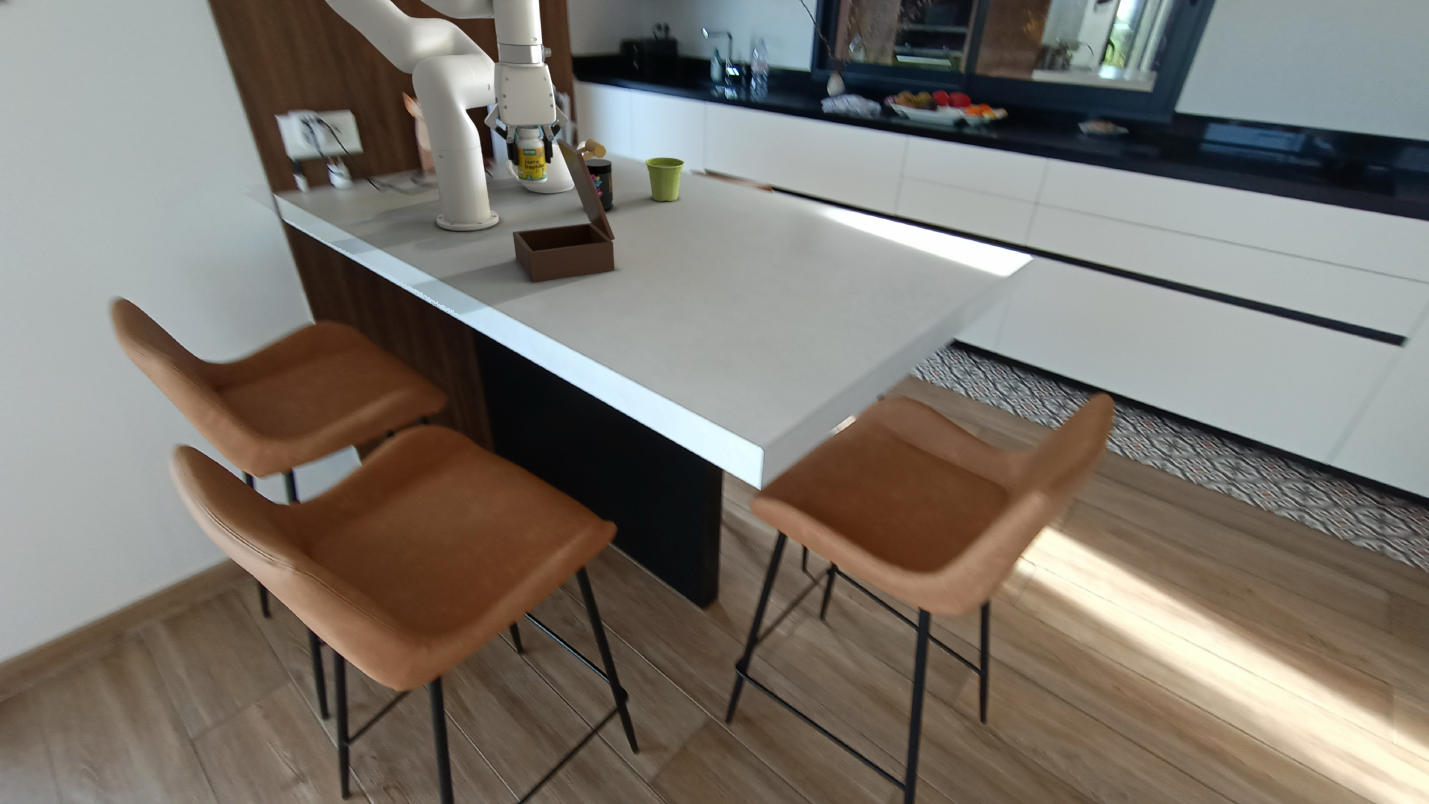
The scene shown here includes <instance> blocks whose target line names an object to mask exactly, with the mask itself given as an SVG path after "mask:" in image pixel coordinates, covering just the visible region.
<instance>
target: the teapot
mask: <svg viewBox="0 0 1429 804" xmlns="http://www.w3.org/2000/svg"><path fill="white" fill-rule="evenodd" d="M542 138H543V136H539V139H541V140H542ZM586 141H587V140H584V141H581V142H579V144H578V146H577V148H576V149H577V150H578V149H580V148H582V147H585V143H586ZM552 148H553V158H551V164H548V163H546V171H547V180H546V182H543V183H540V184H525V183H522V182H520V181H519V178H518V170H517V168H516V170H515V171H516V172H515V171H514V168H513V165H514V164H513V163H512V162H511V160H509V159H507V160H506V162H505V169H506V171H507V173H508V174H509V176H510V177H511V178H512V179H514V180H515V181H517V182H519V183H520V184H521V185H522V186H523V187H525V188H526V189H527V190H529V191H532V192H535V193H541V194H555V193H563V192H567V191H570V190H572V189H573V188H574V187H575V185H574V182H573V180H572V177H571V175H570V173H569V170H568V168H567V165H566V163H565V160H564V158H563V156H562V153H561V151H560V148H559V146H558V143H557V142H556V143H555V142H552ZM582 155H584V153H582Z"/></svg>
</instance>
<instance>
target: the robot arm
mask: <svg viewBox="0 0 1429 804" xmlns="http://www.w3.org/2000/svg"><path fill="white" fill-rule="evenodd" d="M324 1H325V2H326V4H327V5H328V6H329V7H330V8H331V9H332V10H333V11H334V12H335V13H336V14H338V15H339V16H340V17H341V18H342V19H343V20H344V21H346V22H347V23H349V24H350V25H351V26H353V28H355V29H356V30H357V31H358V32H360V33H361V34H362V36H364V37H365V38H366V39H367V41H368V42H370V43H371V44H372V45H373V46H374V47H375V48H376V50H378V51H379V52H380V53H381V54H382V55H383V57H385V58H386V59H387V60H388V61H389V62H390V63H391V64H392V65H394V67H396V68H397V69H398V70H400V71H401V72H402V73H405V74H410V75H411V74H412V76H411V79H412V80H411V81H412V86H413V90H414V93H415V96H416V99H417V101H418V104H419V106H420V109H421V112H422V115H423V118H424V122H425V126H426V131H427V136H428V141H429V146H430V150H431V156H432V161H433V167H434V172H435V177H436V183H437V187H438V188H437V189H438V193H439V198H440V199H439V200H440V205H441V210H442V213H440V214H439V215H437V217H436V219H435V221H436V224H437V226H438V227H440V228H441V229H444V230H449V231H457V232H469V231H479V230H483V229H488V228H491V227H493V226H495V225H497V224H498V223H499V222H500V217H499V214H498V213H497V212H496V211H494V210H491V207H490V201H489V193H488V187H487V179H486V173H485V166H484V159H483V153H482V146H481V139H480V135H479V131H478V128H477V127H476V125H475V123H474V122H473V120H472V119H471V118H470V115H469V114H468V113H467V110H470V109H475V108H481V107H487V106H490V105H493V104H494V106H493V107H492V109H491V110H490V112H489V113H488V115H487V116H486V117H485V118H484V124H485V125H486V126H487V127H489V128H490V129H491V130H492V131H494V132H495V133H497V134H498V135H499V136H500V138H502V139H503V140H505V144H506V145H505V146H506V154H507V160H511V162H512V163H513V164H512V165H514V167H517V166H518V165H519V161H518V151H517V144H516V143H515V141H516V140H515V134H516V132H517V127H520V126H535V127H537V126H539V129H540V131H541V133H542V137H543V138H542V141H543V142H544V148H545V159H546V163H548V164H551V158H553V148H552V143H553V141H554V140H555V137H556V136H557V135H558V134H559V133H560V131H561V129H562V128H563V127H564V126H566V124H567V123H568V122H569V119H568V117H567V116H566V114H565V113H564V112H563V111H562V110H561V109H560V108H559V107H558V105H557V104H556V101H555V94H554V88H553V82H552V78H551V77H552V76H551V74H550V69H549V65H548V64H547V63H544V62H545V61H546V58H547V57H548V58H549V57H551V56H552V50H551V48H550V47H545V46H544V44H543V37H542V36H543V35H542V24H541V23H542V22H541V12H540V0H420V1H421V2H422V3H424V4H425V5H426V6H429V7H430V8H432V9H433V10H435V11H436V12H438V13H441V14H442V15H444V16H446V17H449V18H453V19H458V20H459V19H460V20H462V19H463V20H464V19H465V20H467V19H494V26H495V36H496V43H497V52H498V53H497V54H498V62H494V61H493V59H492V58H491V57H490V56H489V55H488V54H487V53H486V52H485V51H484V50H483V49H482V48H481V47H480V46H479V45H478V44H477V43H476V42H475V41H473V39H472V38H470V37H469V35H467V34H466V33H465V32H464V31H463V30H462V29H461V28H459V26H457V25H456V24H454V23H453V22H451V21H450V20H447V19H444V18H437V17H429V18H428V17H427V18H426V17H423V18H422V17H421V18H420V17H411V16H409V15H408V14H406V13H404V12H403V11H402V10H401V9H400V8H398V7H397V6H396V4H395V3H393V1H391V0H324ZM551 58H552V57H551ZM497 120H498V121H499V122H501V123H502V124H503V125H504V128H502V127H501V126H500V124H499V125H498V124H497V122H496V121H497ZM550 125H551V126H550Z"/></svg>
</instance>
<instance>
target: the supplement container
mask: <svg viewBox="0 0 1429 804" xmlns="http://www.w3.org/2000/svg"><path fill="white" fill-rule="evenodd" d="M584 161H585V163H586V166H587V168H588V171H589V173H590V176H591V179H592V181H593V184H594V186H595V189H596V191H597V194H598V196H599V199H600V202H601V204H602V207H603V209H604V212H605V213H608V212H610V211H612V210H613V209H614V188H613V186H614V185H613V163H612V161H611V160H609V159H604V158H589V159H587V160H584Z"/></svg>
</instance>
